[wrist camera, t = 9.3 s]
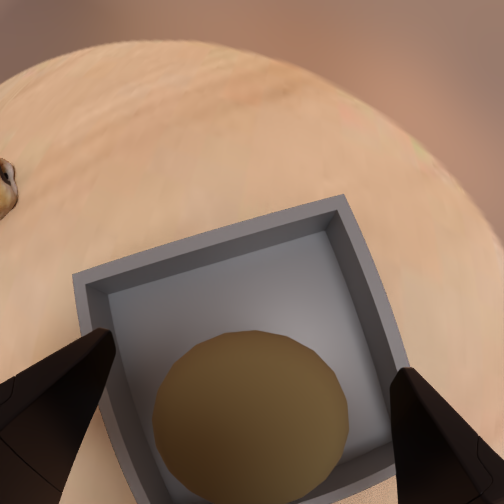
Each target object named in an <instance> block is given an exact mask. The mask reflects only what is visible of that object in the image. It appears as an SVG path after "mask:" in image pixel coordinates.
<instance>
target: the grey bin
mask: <svg viewBox="0 0 504 504" xmlns="http://www.w3.org/2000/svg"><path fill="white" fill-rule="evenodd" d="M72 277H73V286H74V294H75V301H76V308H77V314H78V320H79V326H80V331H81V336H84V335H86V334H88V333H89V332H91V331H93V330H95V329H96V328H99V327H102V328H106V329H109V330H111V331H112V334H113V338H114V342H115V345H116V355H115V358H114V361H113V364H112V367H111V370H110V373H109V376H108V379H107V382H106V385H105V388H104V391H103V394H102V396H101V399H100V401H99V403H98V405H99V409H100V412H101V415H102V418H103V421H104V424H105V427H106V430H107V433H108V436H109V438H110V441H111V444H112V447H113V449H114V452H115V454H116V457H117V459H118V462H119V464H120V467H121V469H122V471H123V474H124V476H125V478H126V481H127V483H128V485H129V487H130V489H131V491H132V494H133V496H134V498H135V500H136V502H137V504H214V503H212V502H210V501H208V500H206V499H204V498H202V497H200V496H198V495H196V494H194V493H192V492H191V491H189V490H188V489H187V488H186V487H185V486H184V485H183V484H182V483H181V482H179V481H178V480H177V479H176V478H175V477H174V476H173V475H172V474H171V473H170V472H169V470H168V469H167V467H166V465H165V463H164V461H163V459H162V457H161V456H160V454H159V452H158V450H157V448H156V445H155V438H154V432H153V425H152V415H153V410H154V405H155V400H156V395H157V391H158V389H159V387H160V385H161V383H162V382H163V380H164V378H165V377H166V375H167V374H168V372H169V370H170V369H171V367H172V365H173V364H174V363H175V362H176V361H177V360H178V359H180V358H181V357H182V356H183V355H184V354H186V353H187V352H188V351H189V350H190V349H192V348H193V347H194V346H195V345H196V344H199V343H201V342H204V341H206V340H209V339H211V338H214V337H216V336H219V335H221V334H223V333H229V332H241V331H251V330H259V331H264V332H269V333H274V334H279V335H284V336H288V337H290V338H291V339H293V340H295V341H297V342H299V343H301V344H302V345H304V346H306V347H308V348H310V349H312V350H314V351H315V352H316V353H317V354H318V355H319V356H320V358H321V359H322V360H323V361H324V362H325V363H326V364H327V365H328V366H329V367H330V368H331V369H332V370H333V371H334V372H335V375H336V377H337V379H338V381H339V383H340V386H341V388H342V390H343V392H344V395H345V397H346V400H347V405H348V418H349V433H348V437H347V440H346V444H345V447H344V451H343V454H342V457H341V458H340V460H339V461H338V463H337V464H336V466H335V467H334V469H333V470H332V471H331V473H330V474H329V476H328V477H327V478H326V480H324V481H323V482H322V483H321V484H319V485H318V486H317V487H316V488H314V489H313V490H312V491H310V492H309V493H308V494H306V495H305V496H303V497H302V498H299V499H297V500H294V501H292V502H289V503H286V504H331V503H334V502H337V501H339V500H342V499H344V498H347V497H349V496H352V495H354V494H356V493H359V492H361V491H363V490H365V489H368V488H370V487H372V486H374V485H376V484H378V483H380V482H382V481H384V480H386V479H388V478H390V477H392V476H394V475H396V469H395V459H394V451H393V442H392V434H391V415H390V394H389V388H390V384H391V382H392V381H393V379H394V377H395V376H396V374H397V372H398V370H399V369H400V368H402V367H410V365H409V361H408V358H407V355H406V351H405V348H404V345H403V342H402V339H401V335H400V332H399V329H398V326H397V323H396V320H395V317H394V314H393V312H392V309H391V306H390V303H389V300H388V298H387V295H386V292H385V289H384V287H383V284H382V282H381V279H380V276H379V274H378V271H377V269H376V266H375V264H374V261H373V259H372V256H371V254H370V251H369V249H368V247H367V244H366V242H365V239H364V237H363V235H362V233H361V230H360V228H359V226H358V223H357V221H356V219H355V217H354V215H353V212H352V210H351V208H350V206H349V204H348V202H347V199H346V197H345V195H344V194H342V195H338V196H334V197H330V198H326V199H322V200H318V201H315V202H311V203H307V204H303V205H300V206H296V207H292V208H289V209H285V210H281V211H278V212H274V213H270V214H267V215H263V216H260V217H256V218H253V219H249V220H246V221H242V222H239V223H235V224H232V225H228V226H225V227H221V228H218V229H214V230H211V231H208V232H204V233H201V234H198V235H194V236H191V237H188V238H184V239H181V240H178V241H174V242H171V243H168V244H165V245H161V246H158V247H155V248H152V249H149V250H145V251H142V252H139V253H136V254H133V255H130V256H127V257H123V258H120V259H117V260H114V261H111V262H108V263H105V264H102V265H99V266H96V267H93V268H90V269H87V270H84V271H81V272H78V273H75V274H72Z"/></svg>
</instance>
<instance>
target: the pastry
mask: <svg viewBox="0 0 504 504" xmlns="http://www.w3.org/2000/svg"><path fill="white" fill-rule="evenodd" d="M13 176H14V172H13V166H12V165H11V164H10V163H9V162H8V161H6V160H5V159H3V158H0V220H1V219H2V218H3V217H4V216H5V215H6V214H7V213H8V212H9V211H10V210H11V209H12V208H13V207H14V205H15V203H16V201H17V195H18V192H17V186H16V183H15V181H14V179H13Z"/></svg>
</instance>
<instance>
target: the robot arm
mask: <svg viewBox="0 0 504 504" xmlns="http://www.w3.org/2000/svg"><path fill="white" fill-rule="evenodd" d="M115 355H116V345H115V342H114V338H113V334H112V331H111V330H109V329H106V328H102V327H99V328H96V329H95V330H93V331H91V332H89V333H88V334H86V335H84V336H82V337H81V338H79V339H77V340H75V341H74V342H72V343H70V344H69V345H67V346H65V347H63V348H62V349H60V350H58V351H56V352H55V353H53V354H51V355H49V356H48V357H46V358H44V359H43V360H41V361H39V362H37V363H36V364H34V365H32V366H31V367H29V368H27V369H25V370H24V371H22V372H20V373H19V374H17V375H16V377H15V376H13V377H12V378H10V379H8V380H6V381H5V382H3V383H1V384H0V504H59V501H60V499H61V496H62V492H63V490H64V487H65V484H66V481H67V479H68V476H69V473H70V471H71V468H72V465H73V463H74V460H75V458H76V455H77V453H78V450H79V448H80V445H81V443H82V440H83V438H84V435H85V433H86V431H87V428H88V426H89V424H90V421H91V419H92V417H93V414H94V412H95V410H96V408H97V405H98V403H99V401H100V399H101V396H102V394H103V391H104V388H105V385H106V382H107V379H108V376H109V373H110V370H111V367H112V364H113V361H114V358H115ZM389 394H390V415H391V434H392V442H393V451H394V459H395V469H396V480H397V493H398V504H504V460H503V459H502V458H501V457H500V456H499V455H498V454H497V453H496V452H495V451H494V450H493V449H492V448H491V447H490V446H489V445H488V444H487V443H486V442H485V441H484V440H483V439H482V438H481V437H480V436H478V434H477V433H476V432H475V431H474V430H473V429H472V428H471V426H470V425H469V424H468V423H467V422H466V421H465V420H464V419H463V418H462V417H461V416H460V415H459V414H458V413H457V412H456V411H455V410H454V409H453V408H452V407H451V406H450V405H449V404H448V403H447V401H446V400H445V399H444V398H443V397H442V396H441V395H440V394H439V393H438V392H437V391H436V390H435V389H434V388H433V387H432V386H431V385H430V384H429V383H428V382H427V381H426V380H425V379H424V378H423V377H422V376H421V375H420V374H419V373H418V372H417V371H416V370H415V369H414V368H412V367H402V368H400V369H399V370H398V372H397V374H396V376H395V377H394V379H393V381H392V382H391V384H390V388H389Z"/></svg>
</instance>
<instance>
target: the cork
mask: <svg viewBox="0 0 504 504" xmlns="http://www.w3.org/2000/svg"><path fill="white" fill-rule="evenodd" d="M152 425H153V432H154V438H155V445H156V448H157V450H158V452H159V454H160V456H161V457H162V459H163V461H164V463H165V465H166V467H167V469H168V470H169V472H170V473H171V474H172V475H173V476H174V477H175V478H176V479H177V480H178V481H179V482H181V483H182V484H183V485H184V486H185V487H186V488H187V489H188V490H189V491H191V492H192V493H194V494H196V495H198V496H200V497H202V498H204V499H206V500H208V501H210V502H212V503H214V504H286V503H289V502H292V501H294V500H297V499H299V498H302V497H303V496H305V495H306V494H308V493H309V492H310V491H312V490H313V489H314V488H316V487H317V486H318V485H319V484H321V483H322V482H323V481H324V480H326V478H327V477H328V476H329V474H330V473H331V471H332V470H333V469H334V467H335V466H336V464H337V463H338V461H339V460H340V458H341V457H342V454H343V451H344V447H345V444H346V440H347V437H348V433H349V418H348V405H347V400H346V397H345V395H344V392H343V390H342V388H341V386H340V383H339V381H338V379H337V377H336V375H335V372H334V371H333V370H332V369H331V368H330V367H329V366H328V365H327V364H326V363H325V362H324V361H323V360H322V359H321V358H320V356H319V355H318V354H317V353H316V352H315V351H314V350H312V349H310V348H308V347H306V346H304V345H302V344H301V343H299V342H297V341H295V340H293V339H291V338H290V337H288V336H284V335H279V334H274V333H269V332H264V331H259V330H251V331H241V332H229V333H223V334H221V335H219V336H216V337H214V338H211V339H209V340H206V341H204V342H201V343H199V344H196V345H195V346H194V347H193V348H192V349H190V350H189V351H188V352H187V353H186V354H184V355H183V356H182V357H181V358H180V359H178V360H177V361H176V362H175V363H174V364H173V365H172V367H171V369H170V370H169V372H168V374H167V375H166V377H165V378H164V380H163V382H162V383H161V385H160V387H159V389H158V391H157V395H156V400H155V405H154V410H153V415H152Z"/></svg>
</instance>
